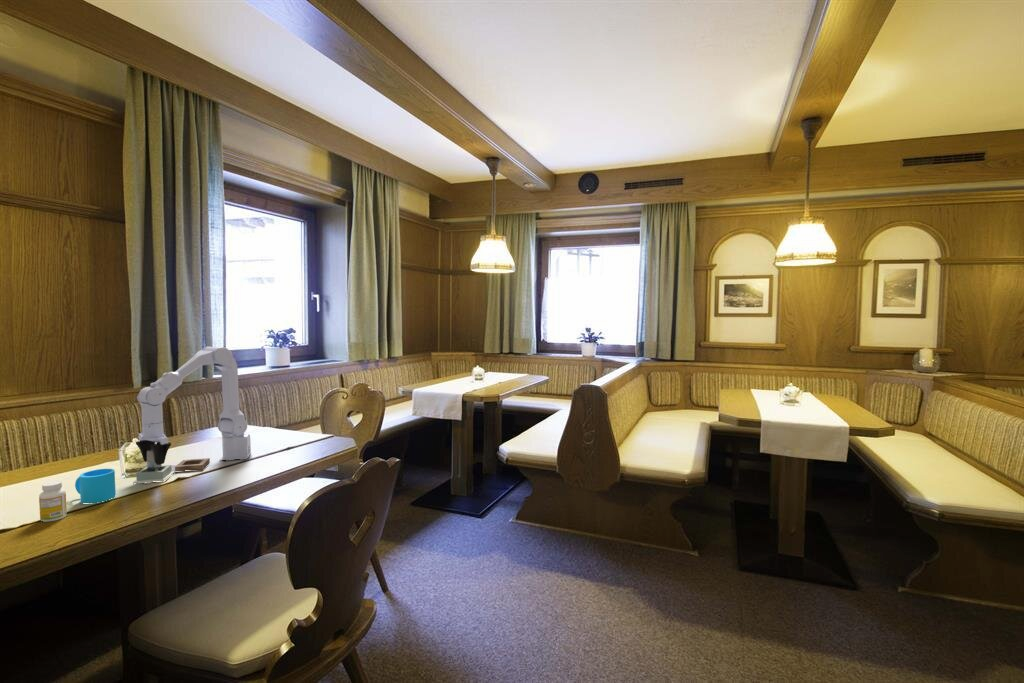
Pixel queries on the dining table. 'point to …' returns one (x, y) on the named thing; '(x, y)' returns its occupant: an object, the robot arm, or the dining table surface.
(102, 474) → the mug
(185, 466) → the socket
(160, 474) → the grey square tray
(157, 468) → the peg
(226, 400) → the robot arm
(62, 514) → the supplement bottle
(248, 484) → the dining table surface
